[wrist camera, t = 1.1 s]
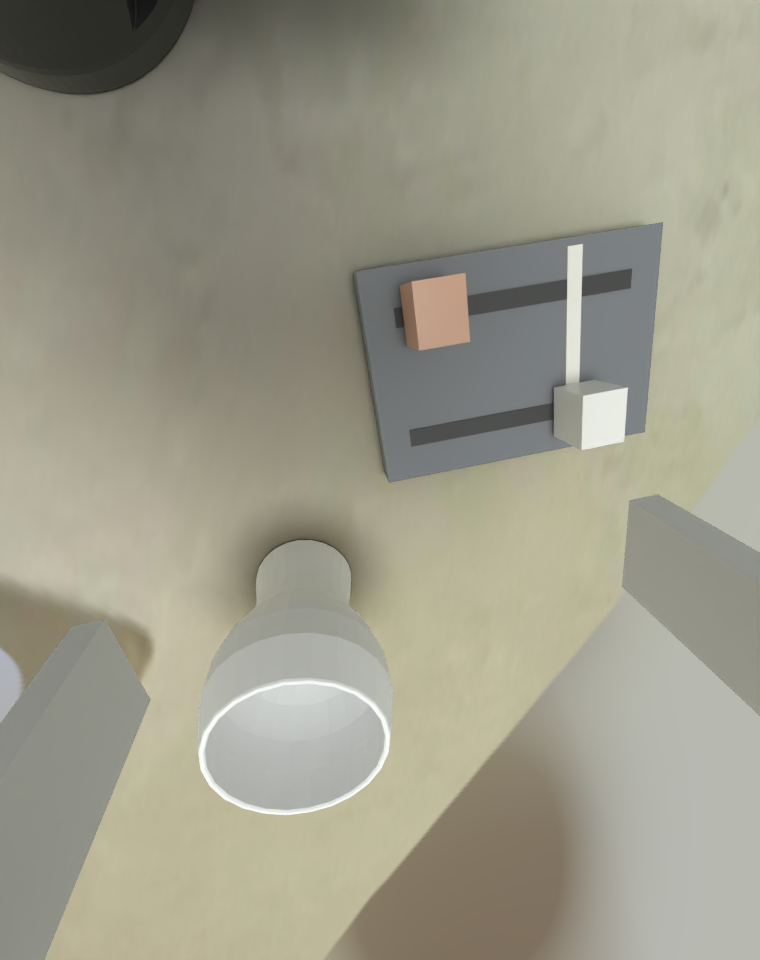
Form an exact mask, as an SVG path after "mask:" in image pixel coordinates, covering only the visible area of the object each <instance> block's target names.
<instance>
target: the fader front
mask: <svg viewBox="0 0 760 960" xmlns="http://www.w3.org/2000/svg"><path fill="white" fill-rule="evenodd" d="M400 294H401V302H402V310H403V318H404V326H405V334H406V342H407V347H410V348H413V349H416V350H419V351H420V350H426V349H432V348H437V347H443V346H449V345H455V344H460V343H466V342H470V332H469V318H468V303H467V288H466V274H465V273H461V274H455V275H449V276H443V277H437V278H430V279H424V280H418V281H412V282H409V283H406V284H403V285H401V286H400Z"/></svg>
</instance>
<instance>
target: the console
mask: <svg viewBox="0 0 760 960" xmlns="http://www.w3.org/2000/svg"><path fill="white" fill-rule="evenodd" d="M662 229H663V222H662V223H656V224H650V225H643V226H637V227H631V228H624V229H618V230H612V231H606V232H599V233H593V234H587V235H580V236H574V237H568V238H561V239H555V240H549V241H543V242H536V243H530V244H524V245H517V246H511V247H505V248H499V249H492V250H486V251H480V252H473V253H467V254H461V255H454V256H448V257H442V258H436V259H429V260H423V261H417V262H410V263H404V264H398V265H392V266H385V267H379V268H373V269H366V270H360V271H355V272H354V274H353V278H354V284H355V291H356V297H357V303H358V309H359V316H360V322H361V328H362V334H363V341H364V347H365V353H366V359H367V366H368V372H369V378H370V384H371V391H372V397H373V403H374V409H375V416H376V422H377V428H378V434H379V441H380V447H381V453H382V459H383V466H384V472H385V475H386V477H387V479H388V482H394V481H400V480H405V479H410V478H415V477H420V476H425V475H430V474H435V473H440V472H445V471H450V470H455V469H460V468H465V467H470V466H475V465H480V464H485V463H490V462H495V461H500V460H506V459H511V458H516V457H521V456H526V455H531V454H536V453H541V452H546V451H551V450H556V449H561V448H566V447H571V446H572V445H570V444H568V443H566V442H564V441H562V440H560V439H558V438H556V437H554V387H558V386H563V385H569V384H574V383H579V382H585V381H590V380H597V381H602V382H606V383H611V384H615V385H619V386H624V387H628V393H627V408H626V422H625V436H627V435H632V434H637V433H642V432H645V423H646V412H647V401H648V389H649V378H650V366H651V355H652V343H653V332H654V320H655V309H656V298H657V286H658V275H659V263H660V252H661V240H662ZM461 273H465V274H466V288H467V303H468V318H469V332H470V342H466V343H460V344H455V345H449V346H443V347H437V348H432V349H426V350H420V351H419V350H416V349H413V348H410V347H407V342H406V334H405V326H404V318H403V310H402V302H401V294H400V286H401V285H403V284H406V283H409V282H412V281H418V280H424V279H430V278H437V277H443V276H449V275H455V274H461Z"/></svg>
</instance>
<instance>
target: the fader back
mask: <svg viewBox="0 0 760 960" xmlns="http://www.w3.org/2000/svg"><path fill="white" fill-rule="evenodd" d="M627 393H628V387H624V386H619V385H615V384H611V383H606V382H602V381H597V380H590V381H585V382H579V383H574V384H569V385H563V386H558V387H554V437H556V438H558V439H560V440H562V441H564V442H566V443H568V444H570V445H572V446H574V447H576V448H578V449H580V450H584V449H589V448H594V447H600V446H605V445H610V444H615V443H620V442H624V437H625V422H626V408H627Z"/></svg>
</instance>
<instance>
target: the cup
mask: <svg viewBox="0 0 760 960" xmlns="http://www.w3.org/2000/svg"><path fill="white" fill-rule="evenodd" d="M350 592H351V572H350V568H349V565H348V563H347V561H346V560H345V558H344V557H343V555H342V554H340V553H339V552H338V551H337V550H336V549H335V548H333V547H331V546H329V545H327V544H325V543H322V542H318V541H313V540H297V541H293V542H289V543H285V544H283V545H281V546H279V547H277V548H276V549H274V550H273V551H272V552H270V553H269V554H268V555H267V556H266V557H265V558H264V560H263V562H262V563H261V565H260V566H259V569H258V573H257V577H256V597H257V604H256V606H255V608H254V609H252V610H251V611H250V612H249V613H248V614H247V615H245V616H244V617H243V618H242V619H241V620H240V621H239V622H238V623H237V625H236V626H235V627H234V629H233V630H232V631H231V633H230V634H229V635H228V636H227V638H226V639H225V640H224V642H223V643H222V645H221V646H220V648H219V650H218V651H217V653H216V654H215V656H214V658H213V659H212V662H211V665H210V668H209V672H208V675H207V678H206V681H205V685H204V688H203V692H202V696H201V700H200V704H199V717H198V755H199V762H200V769H201V771H202V773H203V775H204V776H205V778H206V780H207V782H208V784H209V785H210V787H211V788H213V789H214V790H215V791H216V792H217V793H218V794H219V795H220V796H222V797H223V798H224V799H225V800H227V801H229V802H231V803H233V804H235V805H237V806H239V807H241V808H244V809H248V810H252V811H256V812H260V813H264V814H282V815H290V814H298V813H307V812H312V811H316V810H319V809H323V808H326V807H330V806H333V805H335V804H337V803H339V802H341V801H343V800H345V799H347V798H349V797H351V796H353V795H354V794H355V793H357V792H358V791H359V790H361V789H362V788H363V787H365V786H366V785H367V784H369V783H370V781H371V780H372V779H373V778H374V777H375V775H376V774H377V773H378V772H379V771H380V769H381V768H382V765H383V763H384V761H385V759H386V756H387V754H388V752H389V747H390V735H391V720H392V704H393V690H392V685H391V680H390V676H389V671H388V666H387V662H386V659H385V655H384V651H383V649H382V647H381V645H380V644H379V642H378V641H377V639H376V638H375V636H374V635H373V633H372V632H371V630H370V629H369V627H368V626H367V624H366V623H365V621H364V620H363V618H362V617H361V615H359V614H358V613H357V612H356V611H355V610H353V609H352V608H351V607H350V605H349V600H350Z"/></svg>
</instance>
